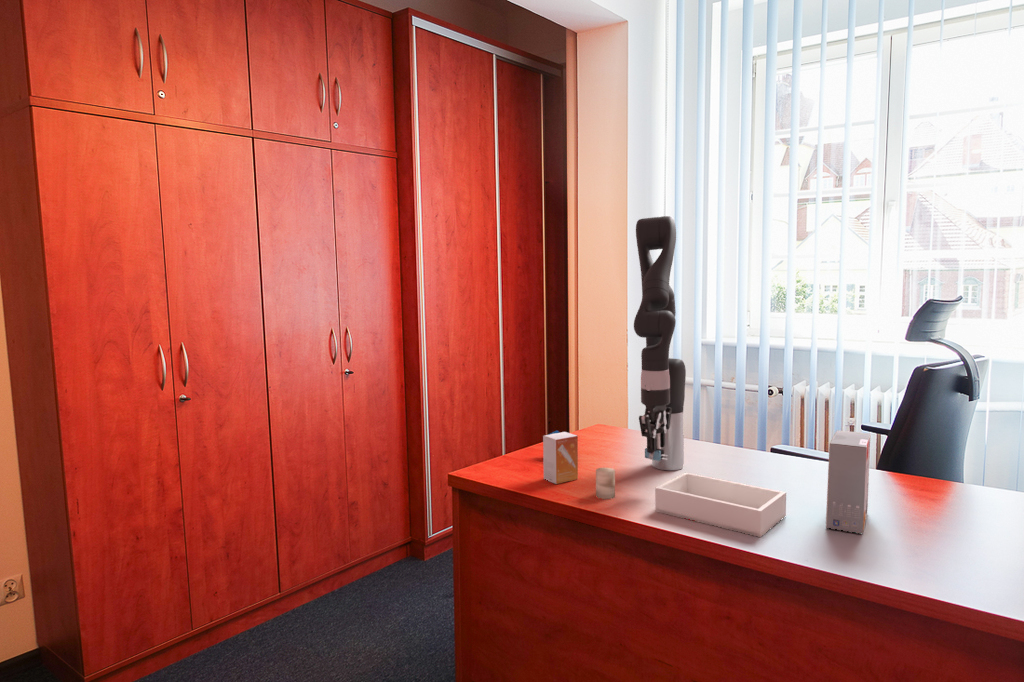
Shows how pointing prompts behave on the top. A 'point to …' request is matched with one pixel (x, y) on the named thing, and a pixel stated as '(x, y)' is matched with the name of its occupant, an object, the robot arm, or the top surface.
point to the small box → (560, 457)
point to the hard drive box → (848, 481)
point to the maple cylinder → (605, 483)
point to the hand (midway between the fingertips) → (656, 448)
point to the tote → (721, 503)
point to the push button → (659, 452)
